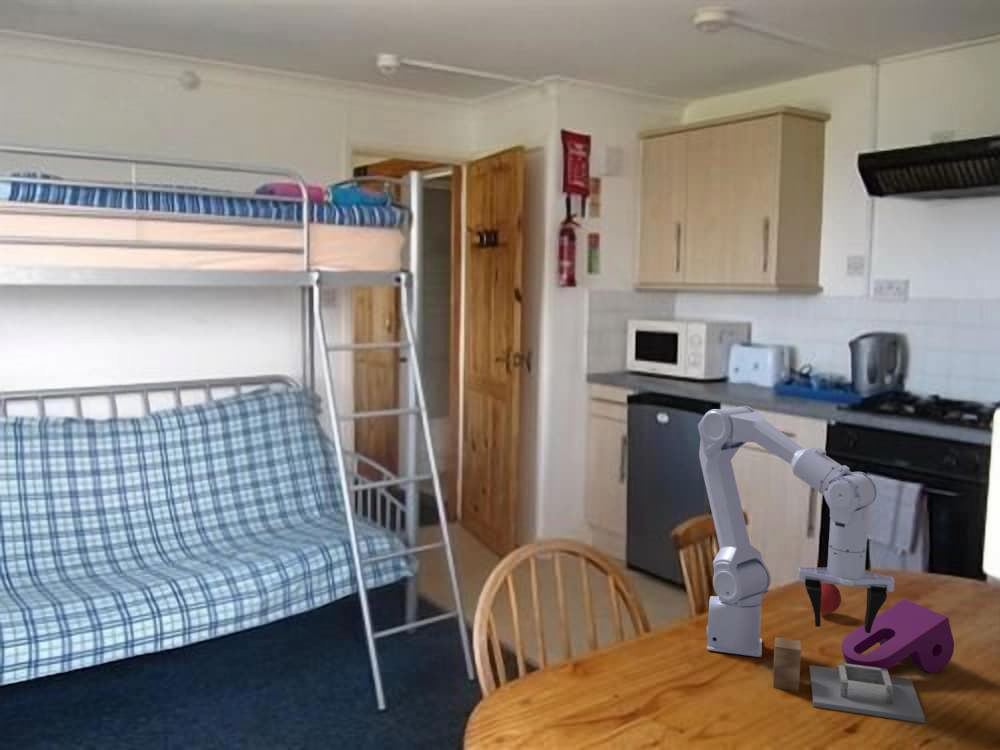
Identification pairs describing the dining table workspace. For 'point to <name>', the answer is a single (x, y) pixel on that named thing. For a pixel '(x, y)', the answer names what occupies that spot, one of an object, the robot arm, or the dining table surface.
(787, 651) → the walnut peg
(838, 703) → the socket board
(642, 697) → the dining table surface
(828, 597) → the onion
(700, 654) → the dining table surface
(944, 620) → the mounting bracket
